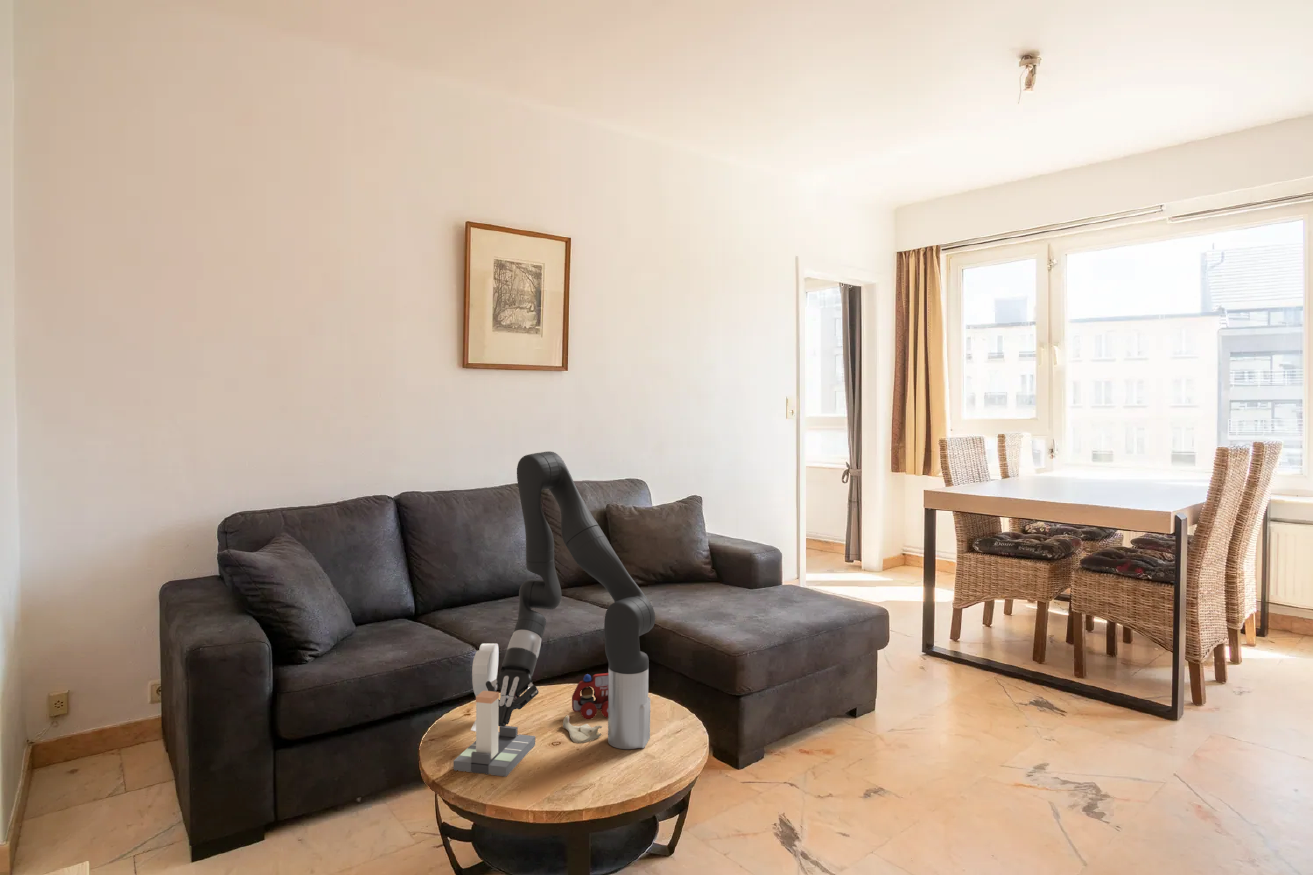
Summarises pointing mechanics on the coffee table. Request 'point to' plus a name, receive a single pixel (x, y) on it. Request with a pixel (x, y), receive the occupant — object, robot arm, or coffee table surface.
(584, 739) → the fossil
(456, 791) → the coffee table surface
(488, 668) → the heart sculpture
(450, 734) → the coffee table surface
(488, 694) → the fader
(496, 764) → the console
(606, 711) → the toy fire truck
